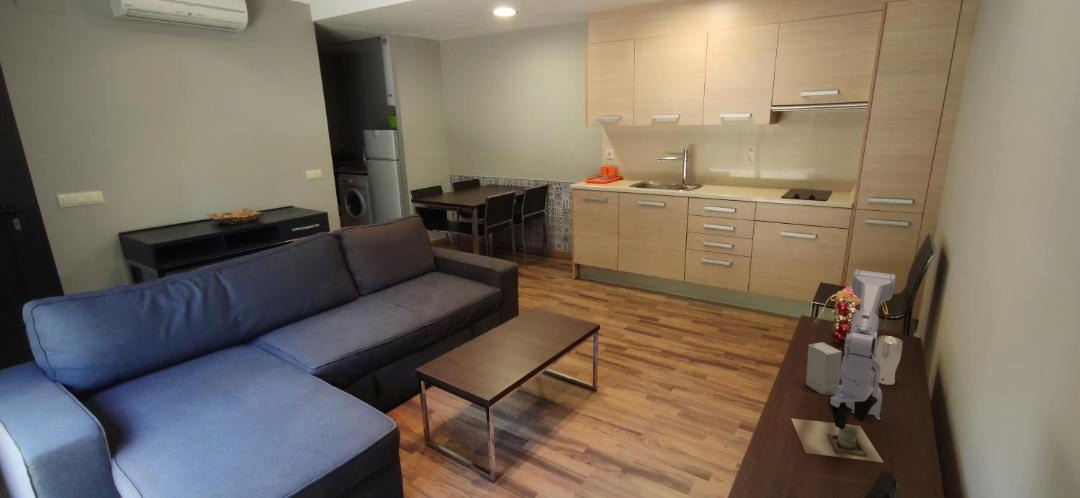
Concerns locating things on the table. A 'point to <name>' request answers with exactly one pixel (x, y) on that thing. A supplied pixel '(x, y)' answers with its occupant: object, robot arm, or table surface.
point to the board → (833, 441)
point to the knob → (847, 438)
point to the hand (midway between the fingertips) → (849, 423)
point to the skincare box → (823, 368)
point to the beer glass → (888, 357)
